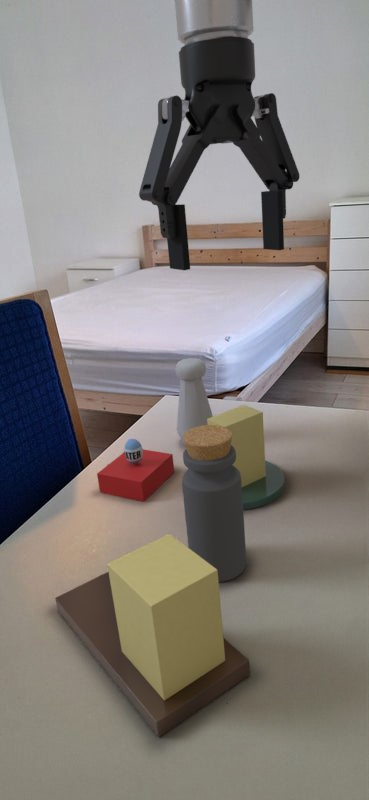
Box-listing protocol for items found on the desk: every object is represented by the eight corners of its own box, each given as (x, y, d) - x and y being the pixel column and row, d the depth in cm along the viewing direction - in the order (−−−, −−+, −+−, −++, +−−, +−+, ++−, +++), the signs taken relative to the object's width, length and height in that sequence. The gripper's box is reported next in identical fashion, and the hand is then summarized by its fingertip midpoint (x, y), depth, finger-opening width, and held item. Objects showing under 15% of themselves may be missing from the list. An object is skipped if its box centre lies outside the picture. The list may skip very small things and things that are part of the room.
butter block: (179, 618, 53) (169, 533, 50) (225, 660, 48) (217, 569, 45) (121, 651, 50) (106, 563, 47) (164, 701, 45) (151, 606, 42)
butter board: (136, 570, 63) (134, 558, 62) (250, 674, 49) (249, 660, 48) (57, 610, 58) (54, 597, 57) (158, 737, 44) (156, 722, 43)
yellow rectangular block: (247, 467, 79) (244, 404, 76) (265, 476, 76) (262, 411, 73) (212, 483, 76) (206, 418, 73) (229, 493, 73) (225, 426, 70)
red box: (143, 501, 75) (137, 457, 73) (100, 492, 79) (92, 449, 76) (174, 472, 82) (169, 430, 79) (132, 464, 85) (127, 424, 83)
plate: (242, 454, 85) (241, 448, 84) (304, 485, 75) (304, 478, 75) (173, 485, 79) (172, 478, 78) (231, 522, 69) (230, 514, 69)
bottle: (181, 558, 64) (167, 431, 58) (230, 541, 66) (221, 417, 60) (205, 590, 59) (192, 454, 53) (256, 571, 61) (249, 438, 55)
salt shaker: (193, 431, 94) (185, 352, 89) (223, 438, 90) (217, 356, 86) (170, 446, 89) (161, 364, 85) (202, 454, 86) (194, 369, 81)
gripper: (280, 51, 69) (285, 240, 76) (86, 47, 56) (116, 275, 64) (330, 37, 63) (330, 243, 71) (126, 28, 50) (154, 281, 58)
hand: (229, 258), depth 67 cm, fingers open, 13 cm apart
